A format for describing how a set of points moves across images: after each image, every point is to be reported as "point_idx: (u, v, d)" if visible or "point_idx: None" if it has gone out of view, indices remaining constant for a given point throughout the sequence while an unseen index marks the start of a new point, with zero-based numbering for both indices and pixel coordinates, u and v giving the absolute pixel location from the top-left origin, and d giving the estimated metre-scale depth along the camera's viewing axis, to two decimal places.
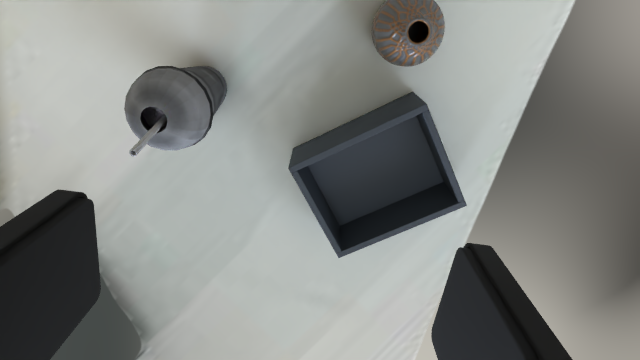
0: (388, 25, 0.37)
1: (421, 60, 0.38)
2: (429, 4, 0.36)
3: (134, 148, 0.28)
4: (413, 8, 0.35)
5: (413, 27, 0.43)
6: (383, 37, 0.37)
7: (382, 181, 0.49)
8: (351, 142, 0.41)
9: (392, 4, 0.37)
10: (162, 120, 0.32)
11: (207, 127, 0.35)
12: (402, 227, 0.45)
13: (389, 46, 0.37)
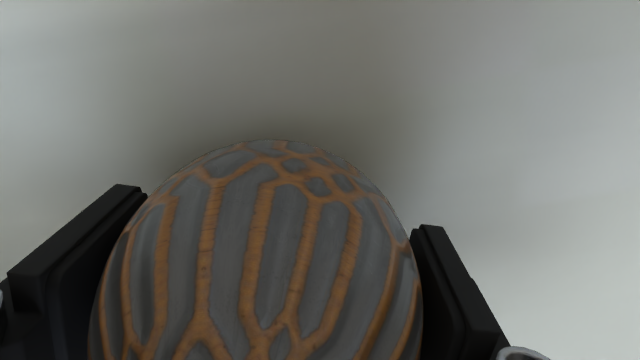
0: (121, 335, 0.06)
1: None
2: (389, 355, 0.06)
3: None
4: None
5: None
6: (91, 343, 0.07)
7: None
8: None
9: (220, 223, 0.06)
10: None
11: None
12: None
13: None
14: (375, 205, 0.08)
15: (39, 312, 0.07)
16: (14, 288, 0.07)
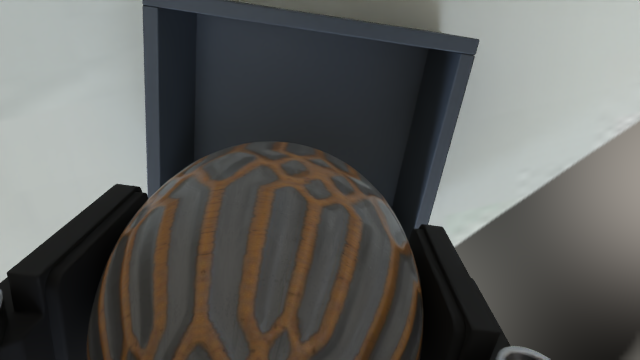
0: (122, 337, 0.06)
1: None
2: (389, 359, 0.06)
3: None
4: None
5: None
6: (90, 346, 0.07)
7: None
8: (300, 21, 0.18)
9: (220, 226, 0.06)
10: None
11: None
12: None
13: None
14: (375, 207, 0.08)
15: (39, 312, 0.07)
16: (14, 288, 0.07)
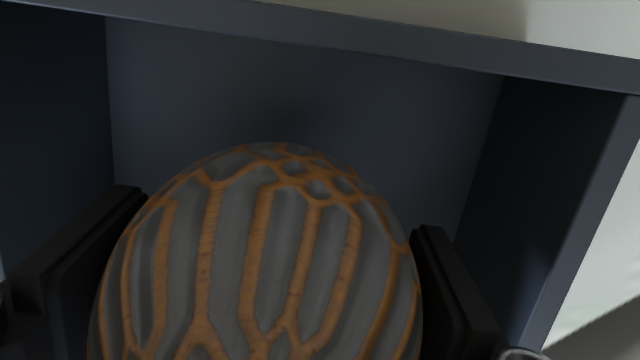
0: (122, 337, 0.06)
1: None
2: (388, 358, 0.06)
3: None
4: None
5: None
6: (90, 346, 0.07)
7: None
8: (274, 24, 0.08)
9: (220, 226, 0.06)
10: None
11: None
12: None
13: None
14: (374, 208, 0.08)
15: (39, 312, 0.07)
16: (14, 288, 0.07)
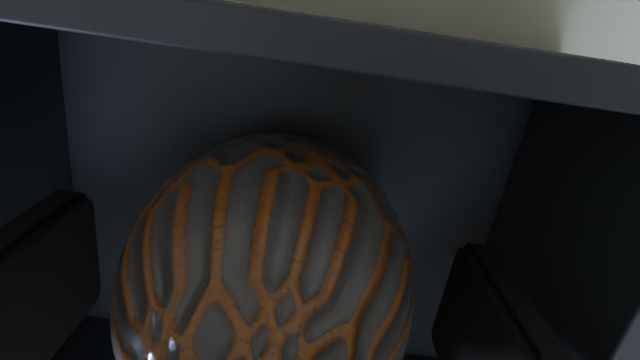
0: (146, 300, 0.07)
1: None
2: (381, 321, 0.07)
3: None
4: (290, 325, 0.06)
5: None
6: (114, 311, 0.07)
7: None
8: (249, 35, 0.06)
9: (231, 203, 0.07)
10: None
11: None
12: None
13: None
14: (369, 191, 0.09)
15: None
16: None
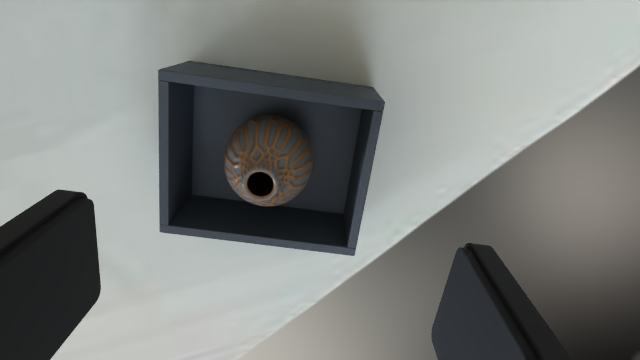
0: (239, 151, 0.28)
1: (259, 205, 0.30)
2: (296, 158, 0.28)
3: None
4: (273, 153, 0.27)
5: None
6: (229, 158, 0.29)
7: None
8: (264, 90, 0.27)
9: (259, 129, 0.28)
10: None
11: None
12: (263, 239, 0.31)
13: (229, 172, 0.29)
14: (297, 130, 0.30)
15: None
16: None
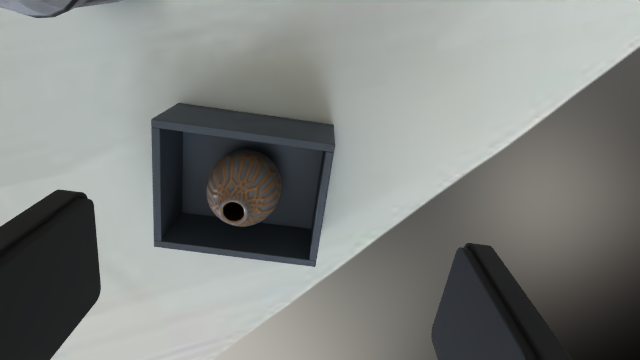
0: (217, 183, 0.34)
1: None
2: (264, 189, 0.35)
3: None
4: (244, 186, 0.34)
5: None
6: (209, 188, 0.35)
7: None
8: (237, 135, 0.34)
9: (233, 165, 0.35)
10: None
11: (62, 7, 0.25)
12: (240, 252, 0.38)
13: (210, 199, 0.35)
14: (266, 164, 0.37)
15: None
16: None
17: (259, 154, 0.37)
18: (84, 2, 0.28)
